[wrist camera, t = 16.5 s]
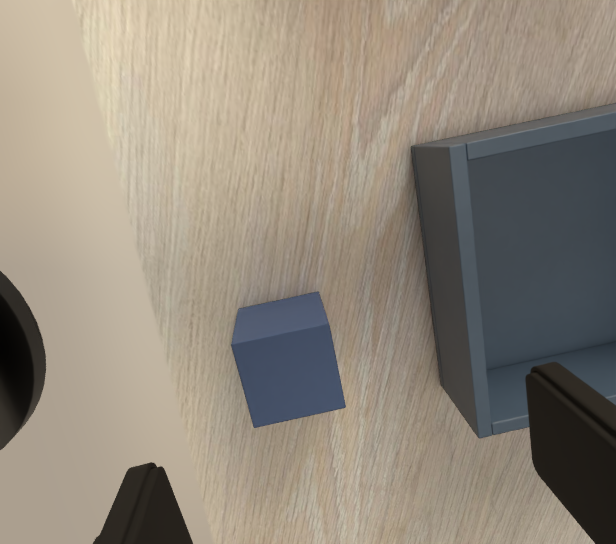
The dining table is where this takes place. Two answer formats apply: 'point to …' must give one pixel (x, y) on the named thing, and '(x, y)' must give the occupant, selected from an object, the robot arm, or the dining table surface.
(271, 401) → the blue block
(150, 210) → the dining table surface
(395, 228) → the dining table surface
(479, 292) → the slate bin
